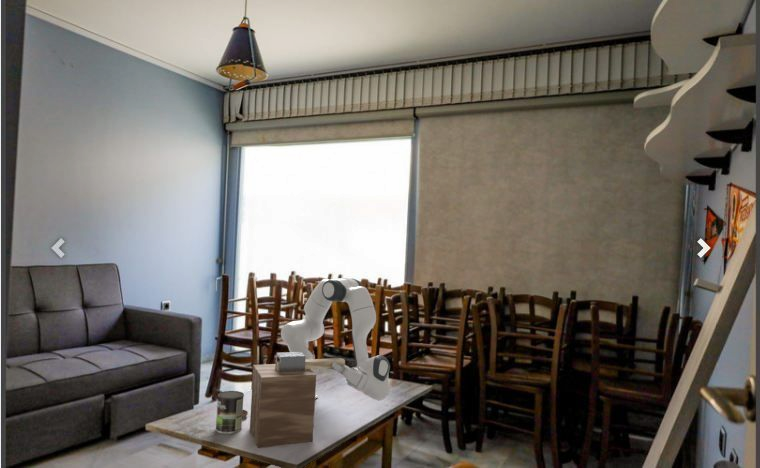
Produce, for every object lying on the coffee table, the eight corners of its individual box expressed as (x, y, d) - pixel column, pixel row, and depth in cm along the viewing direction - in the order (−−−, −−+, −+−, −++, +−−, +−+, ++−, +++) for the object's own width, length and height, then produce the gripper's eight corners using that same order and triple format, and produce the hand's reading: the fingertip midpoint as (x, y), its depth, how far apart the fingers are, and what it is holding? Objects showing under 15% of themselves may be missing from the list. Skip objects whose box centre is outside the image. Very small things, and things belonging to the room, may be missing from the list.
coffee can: (223, 436, 194) (225, 399, 194) (211, 428, 201) (213, 393, 202) (246, 430, 201) (248, 395, 202) (234, 423, 209) (236, 389, 209)
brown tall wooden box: (249, 429, 203) (253, 365, 203) (300, 424, 211) (303, 362, 212) (257, 448, 184) (261, 377, 185) (312, 442, 192) (316, 374, 193)
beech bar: (275, 368, 199) (275, 360, 199) (341, 365, 210) (341, 358, 210) (277, 370, 195) (277, 363, 195) (344, 367, 206) (345, 360, 206)
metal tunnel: (275, 367, 201) (276, 352, 201) (300, 366, 205) (300, 351, 205) (279, 372, 194) (280, 356, 194) (304, 371, 198) (305, 355, 198)
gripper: (352, 365, 220) (326, 350, 216) (369, 376, 202) (341, 360, 197) (344, 377, 219) (319, 363, 215) (361, 390, 200) (333, 375, 196)
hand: (330, 362), depth 206 cm, fingers closed on beech bar, 4 cm apart
